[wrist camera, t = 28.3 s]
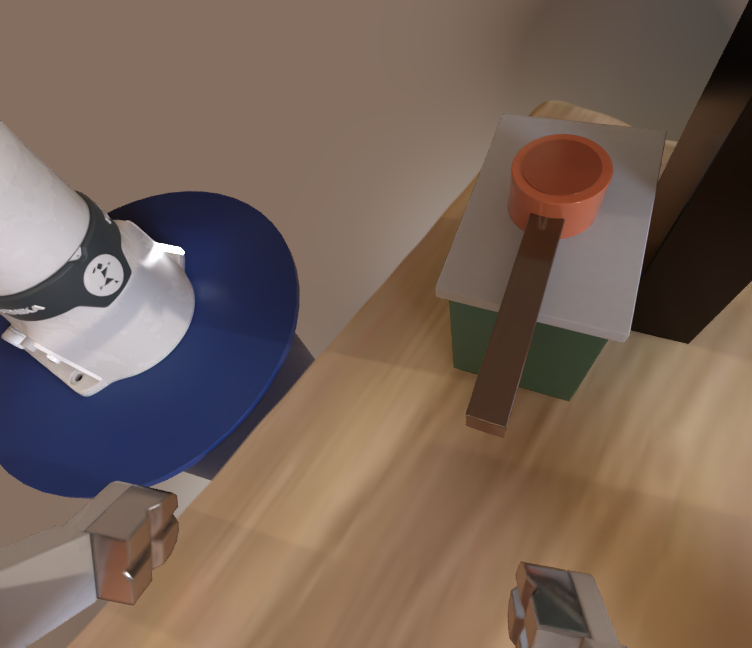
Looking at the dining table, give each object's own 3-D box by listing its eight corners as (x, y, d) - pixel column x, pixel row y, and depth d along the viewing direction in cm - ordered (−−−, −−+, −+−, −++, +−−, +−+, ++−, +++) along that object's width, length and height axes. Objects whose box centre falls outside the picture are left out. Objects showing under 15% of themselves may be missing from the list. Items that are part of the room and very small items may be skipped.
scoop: (432, 415, 24) (428, 395, 21) (519, 167, 31) (524, 127, 28) (540, 451, 23) (550, 435, 20) (606, 180, 29) (621, 138, 27)
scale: (445, 378, 41) (434, 289, 28) (492, 241, 47) (502, 112, 34) (571, 417, 38) (629, 335, 24) (605, 263, 44) (667, 130, 30)
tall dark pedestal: (606, 328, 41) (778, 37, 18) (624, 241, 45) (785, -90, 22) (689, 348, 39) (1000, 47, 16) (700, 255, 43) (966, -95, 20)
